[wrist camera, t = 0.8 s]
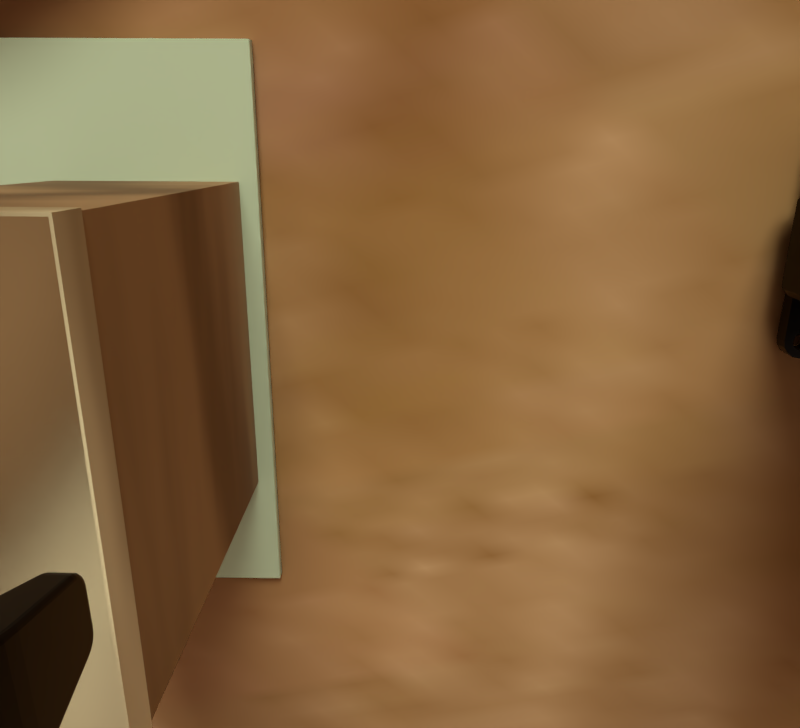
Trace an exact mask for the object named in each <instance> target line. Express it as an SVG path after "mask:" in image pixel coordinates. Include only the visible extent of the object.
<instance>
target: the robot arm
mask: <svg viewBox="0 0 800 728" xmlns="http://www.w3.org/2000/svg"><path fill="white" fill-rule="evenodd" d="M782 288H783V290H784V291H785V297H784V302H783V308H782V313H781V319H780V324H779V329H778V335H777V345H778V347H779V349H780V350H782V351H783V352H784V353H786V354H788V355H790V356H792V357H795V358H800V344H798V345H796V346H793V340H794V338H795V337H796V336H797V335H798V334H800V198H799V199H798V201H797V206H796V212H795V217H794V222H793V228H792V233H791V239H790V244H789V250H788V255H787V261H786V266H785V272H784V277H783V283H782ZM92 644H93V625H92V619H91V613H90V607H89V601H88V595H87V589H86V585H85V581H84V579H83V578H82V576H81V575H79V574H77V573H61V572H47V573H43V574H40V575H38V576H36V577H34V578H32V579H30V580H28V581H26V582H25V583H23V584H21V585H19V586H17V587H15V588H13V589H11V590H9V591H7V592H5V593H3V594H1V595H0V728H60V725H61V723H62V720H63V718H64V715H65V713H66V711H67V708H68V706H69V703H70V701H71V698H72V696H73V694H74V691H75V689H76V686H77V684H78V681H79V679H80V677H81V674H82V672H83V669H84V667H85V664H86V662H87V660H88V657H89V655H90V652H91V648H92Z"/></svg>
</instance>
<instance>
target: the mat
mask: <svg viewBox="0 0 800 728" xmlns="http://www.w3.org/2000/svg"><path fill="white" fill-rule="evenodd" d="M43 181H198V182H239V192H240V207H241V222H242V238H243V253H244V268H245V283H246V298H247V314H248V329H249V344H250V359H251V374H252V390H253V405H254V420H255V435H256V450H257V466H258V481H259V482H258V484H257V486H256V489H255V491H254V493H253V495H252V498H251V500H250V502H249V504H248V506H247V509H246V511H245V513H244V515H243V518H242V520H241V522H240V524H239V526H238V529H237V531H236V533H235V535H234V538H233V540H232V542H231V544H230V547H229V549H228V551H227V553H226V555H225V558H224V560H223V562H222V564H221V567H220V569H219V571H218V573H217V576H216V577H222V578H280V577H281V574H282V567H281V549H280V532H279V514H278V496H277V479H276V461H275V443H274V426H273V408H272V390H271V373H270V355H269V337H268V320H267V302H266V284H265V266H264V249H263V231H262V213H261V196H260V178H259V160H258V143H257V125H256V107H255V90H254V72H253V54H252V41H251V40H250V39H186V38H0V185H7V184H19V183H31V182H43Z"/></svg>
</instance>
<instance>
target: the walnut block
mask: <svg viewBox="0 0 800 728" xmlns="http://www.w3.org/2000/svg"><path fill="white" fill-rule="evenodd" d="M258 482H259V481H258V466H257V450H256V435H255V420H254V405H253V390H252V374H251V359H250V344H249V329H248V314H247V298H246V283H245V268H244V253H243V238H242V222H241V207H240V192H239V182H198V181H43V182H31V183H19V184H7V185H0V595H1V594H3V593H5V592H7V591H9V590H11V589H13V588H15V587H17V586H19V585H21V584H23V583H25V582H26V581H28V580H30V579H32V578H34V577H36V576H38V575H40V574H43V573H47V572H61V573H77V574H79V575H81V576H82V578H83V579H84V581H85V585H86V589H87V595H88V601H89V607H90V613H91V619H92V625H93V644H92V648H91V652H90V655H89V657H88V660H87V662H86V664H85V667H84V669H83V672H82V674H81V677H80V679H79V681H78V684H77V686H76V689H75V691H74V694H73V696H72V698H71V701H70V703H69V706H68V708H67V711H66V713H65V715H64V718H63V720H62V723H61V725H60V728H152V718H153V716H154V714H155V712H156V709H157V707H158V705H159V703H160V700H161V698H162V696H163V694H164V691H165V689H166V687H167V685H168V683H169V680H170V678H171V676H172V674H173V671H174V669H175V667H176V665H177V662H178V660H179V658H180V656H181V654H182V651H183V649H184V647H185V645H186V642H187V640H188V638H189V636H190V633H191V631H192V629H193V627H194V625H195V622H196V620H197V618H198V616H199V613H200V611H201V609H202V607H203V605H204V602H205V600H206V598H207V596H208V593H209V591H210V589H211V587H212V584H213V582H214V580H215V578H216V576H217V573H218V571H219V569H220V567H221V564H222V562H223V560H224V558H225V555H226V553H227V551H228V549H229V547H230V544H231V542H232V540H233V538H234V535H235V533H236V531H237V529H238V526H239V524H240V522H241V520H242V518H243V515H244V513H245V511H246V509H247V506H248V504H249V502H250V500H251V498H252V495H253V493H254V491H255V489H256V486H257V484H258Z"/></svg>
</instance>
